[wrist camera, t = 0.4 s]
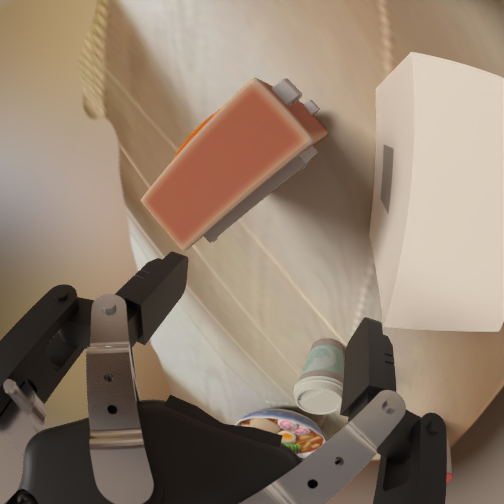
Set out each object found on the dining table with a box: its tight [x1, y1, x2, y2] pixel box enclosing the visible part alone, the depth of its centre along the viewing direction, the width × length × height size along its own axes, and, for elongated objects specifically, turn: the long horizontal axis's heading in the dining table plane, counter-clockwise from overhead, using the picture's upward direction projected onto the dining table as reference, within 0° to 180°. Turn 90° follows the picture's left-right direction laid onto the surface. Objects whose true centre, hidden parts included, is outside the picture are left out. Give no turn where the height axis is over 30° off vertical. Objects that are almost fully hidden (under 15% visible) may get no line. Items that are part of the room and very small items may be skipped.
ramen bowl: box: [235, 409, 326, 460], centre depth 58 cm, size 25×23×8 cm
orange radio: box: [141, 78, 328, 251], centre depth 27 cm, size 21×7×15 cm
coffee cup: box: [294, 339, 344, 415], centre depth 43 cm, size 8×9×12 cm
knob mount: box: [369, 52, 504, 332], centre depth 23 cm, size 20×12×20 cm, turn 2°
